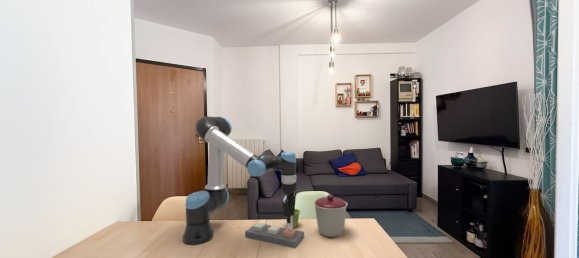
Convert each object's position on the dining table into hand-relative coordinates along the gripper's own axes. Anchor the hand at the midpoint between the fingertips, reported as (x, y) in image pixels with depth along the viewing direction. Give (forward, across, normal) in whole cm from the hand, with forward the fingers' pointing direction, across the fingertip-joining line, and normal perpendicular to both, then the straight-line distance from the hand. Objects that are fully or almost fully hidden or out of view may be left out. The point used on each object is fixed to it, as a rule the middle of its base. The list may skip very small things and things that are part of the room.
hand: (289, 228), depth 121 cm
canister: (+7, +16, -17) cm, 25 cm away
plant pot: (+7, +16, +6) cm, 19 cm away
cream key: (+4, 0, +9) cm, 10 cm away
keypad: (+6, 0, +9) cm, 11 cm away
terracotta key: (+4, 0, 0) cm, 4 cm away
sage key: (+4, 0, +18) cm, 19 cm away
